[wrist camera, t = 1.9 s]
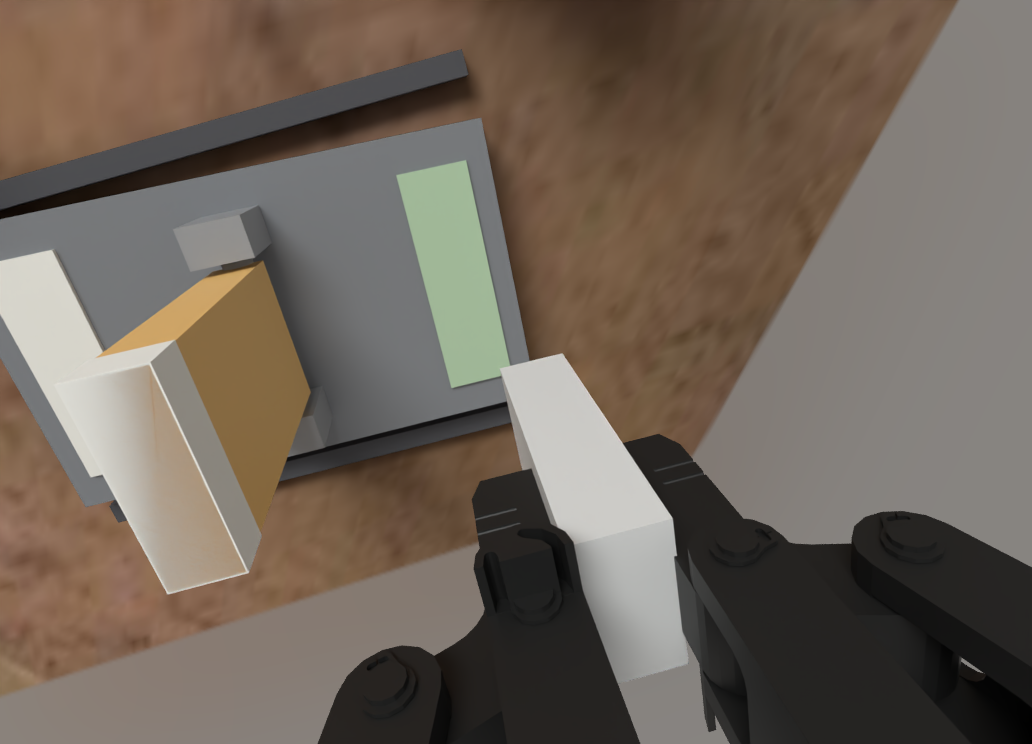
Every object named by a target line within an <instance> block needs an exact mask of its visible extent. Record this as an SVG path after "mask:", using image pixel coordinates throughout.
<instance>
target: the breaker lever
mask: <svg viewBox="0 0 1032 744" xmlns="http://www.w3.org/2000/svg"><path fill="white" fill-rule="evenodd" d="M221 267H222V269H221V270H217V271H213V272H212V273H210V274H209V275H207V276H206V277H205V278H203V279H202V280H201V281H199V282H198V283H197V284H195V285H194V286H193V287H191V288H190V289H188V290H187V291H186V292H184V293H183V294H182V295H180V296H179V297H178V298H176V299H175V300H174V301H172V302H171V303H169V304H168V305H167V306H165V307H164V308H163V309H161V310H160V311H159V312H157V313H156V314H155V315H153V316H152V317H150V318H149V319H148V320H146V321H145V322H144V323H142V324H141V325H140V326H138V327H137V328H136V329H134V330H133V331H131V332H130V333H129V334H127V335H126V336H125V337H123V338H122V339H121V340H119V341H118V342H116V343H115V344H114V345H112V346H111V347H110V348H108V349H107V350H106V351H104V352H103V353H102V354H100V355H99V356H97V357H96V358H94V359H90V360H87V361H86V362H84V363H83V364H82V365H80V366H79V367H77V368H76V369H75V370H73V371H72V372H71V373H69V374H68V375H66V376H65V377H64V378H62V379H61V380H60V381H58V382H57V383H55V384H54V386H55V388H56V390H57V392H58V394H59V396H60V397H61V399H62V401H63V403H64V405H65V407H66V409H67V410H68V412H69V414H70V416H71V418H72V420H73V421H74V423H75V425H76V427H77V429H78V431H79V432H80V434H81V436H82V438H83V440H84V442H85V443H86V445H87V447H88V449H89V451H90V453H91V454H92V456H93V458H94V460H95V462H96V464H97V465H98V467H99V469H100V471H101V473H102V475H103V476H104V478H105V480H106V482H107V484H108V486H109V487H110V489H111V491H112V493H113V495H114V497H115V498H116V500H117V502H118V504H119V506H120V508H121V509H122V511H123V513H124V515H125V517H126V519H127V520H128V522H129V524H130V526H131V528H132V530H133V531H134V533H135V535H136V537H137V539H138V541H139V542H140V544H141V546H142V548H143V550H144V552H145V553H146V555H147V557H148V559H149V561H150V563H151V565H152V566H153V568H154V570H155V572H156V574H157V576H158V577H159V579H160V581H161V583H162V585H163V587H164V588H165V590H166V592H167V594H171V593H175V592H179V591H182V590H186V589H190V588H194V587H198V586H201V585H205V584H209V583H213V582H216V581H220V580H224V579H228V578H231V577H235V576H239V575H243V574H246V573H249V571H250V568H251V565H252V563H253V560H254V557H255V554H256V551H257V548H258V546H259V543H260V540H261V537H262V535H261V529H262V527H263V524H264V521H265V518H266V516H267V513H268V510H269V507H270V504H271V502H272V499H273V496H274V493H275V490H276V488H277V485H278V482H279V479H280V476H281V474H282V471H283V468H284V465H285V462H286V460H287V457H288V454H289V451H290V449H291V446H292V443H293V440H294V437H295V435H296V432H297V429H298V426H299V423H300V421H301V418H302V415H303V412H304V409H305V407H306V404H307V401H308V398H309V396H310V393H311V391H310V389H309V386H308V383H307V380H306V378H305V375H304V372H303V369H302V366H301V364H300V361H299V358H298V355H297V353H296V350H295V347H294V344H293V342H292V339H291V336H290V333H289V331H288V328H287V325H286V322H285V320H284V317H283V314H282V311H281V308H280V306H279V303H278V300H277V297H276V295H275V292H274V289H273V286H272V284H271V281H270V278H269V275H268V273H267V270H266V267H265V264H264V262H263V260H262V261H257V262H253V259H252V258H250V259H246V260H241V261H237V262H232V263H228V264H223V265H221Z"/></svg>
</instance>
